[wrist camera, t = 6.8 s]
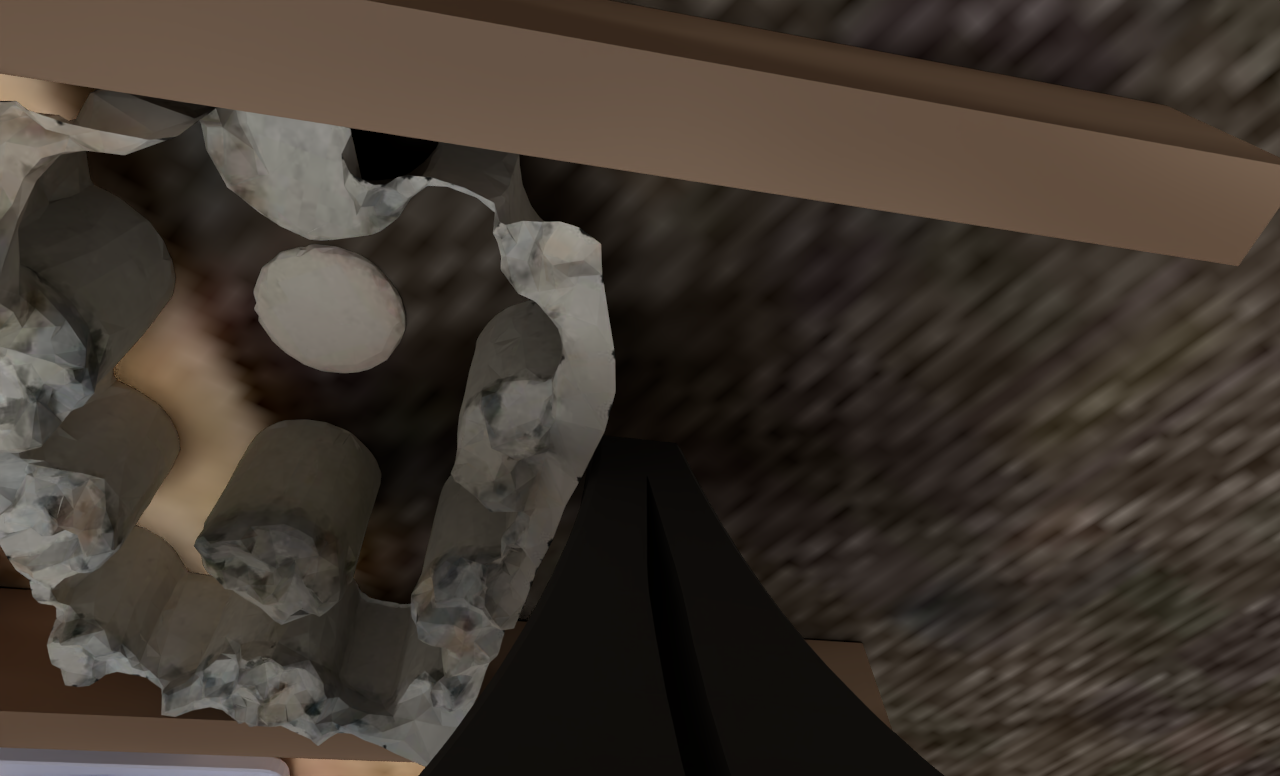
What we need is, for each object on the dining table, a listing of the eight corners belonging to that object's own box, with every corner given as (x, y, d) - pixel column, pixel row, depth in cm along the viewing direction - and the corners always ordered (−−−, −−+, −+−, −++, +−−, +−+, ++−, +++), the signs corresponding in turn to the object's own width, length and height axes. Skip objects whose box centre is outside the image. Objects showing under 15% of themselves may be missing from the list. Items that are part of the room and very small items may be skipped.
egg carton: (76, -38, 9) (-220, 30, 6) (656, 177, 11) (687, 320, 8) (88, 548, 15) (-59, 754, 11) (471, 622, 17) (442, 816, 13)
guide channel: (844, 673, 18) (893, 828, 15) (-69, 621, 15) (-220, 800, 12) (1167, 105, 10) (1381, 204, 8) (-552, -219, 8) (-1239, -254, 5)
